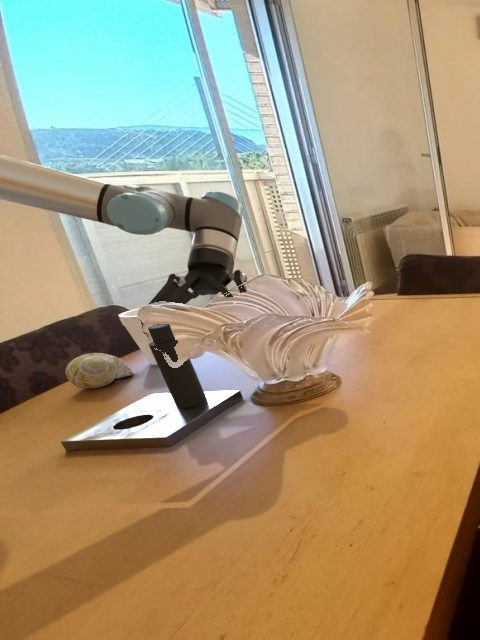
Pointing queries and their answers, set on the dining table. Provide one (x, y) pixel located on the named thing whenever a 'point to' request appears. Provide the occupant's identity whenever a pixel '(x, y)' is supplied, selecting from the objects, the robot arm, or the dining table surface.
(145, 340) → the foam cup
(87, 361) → the seashell
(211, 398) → the plate
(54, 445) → the dining table surface
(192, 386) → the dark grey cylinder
